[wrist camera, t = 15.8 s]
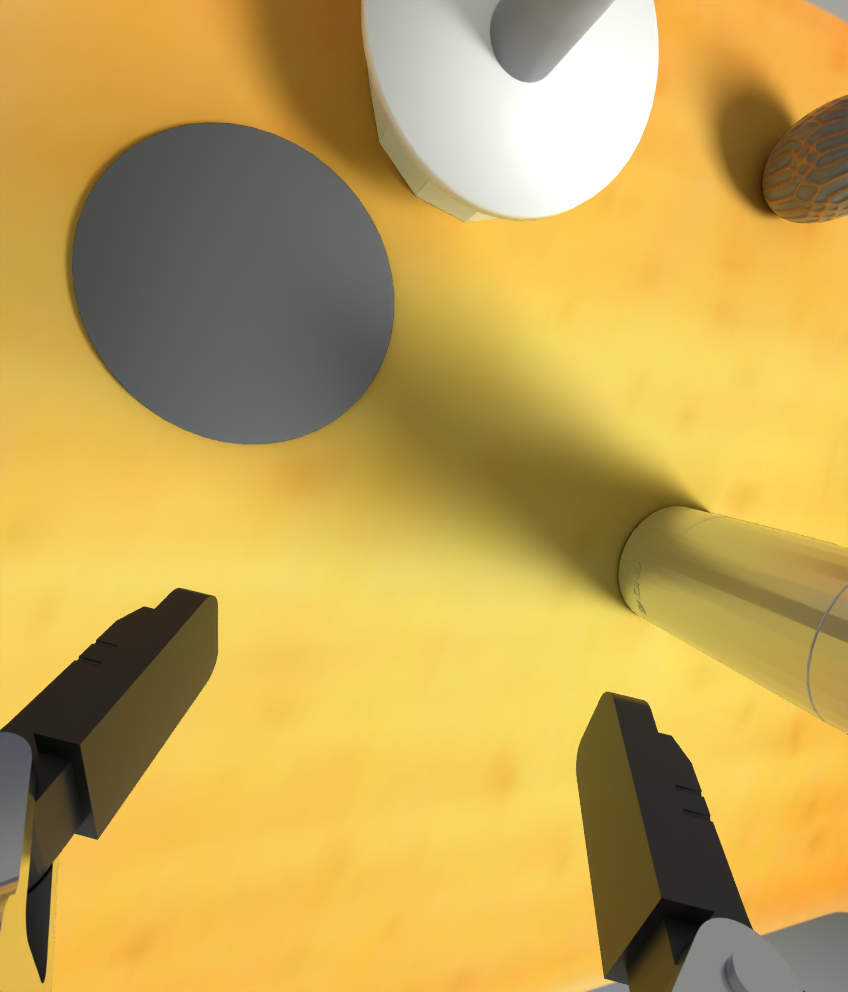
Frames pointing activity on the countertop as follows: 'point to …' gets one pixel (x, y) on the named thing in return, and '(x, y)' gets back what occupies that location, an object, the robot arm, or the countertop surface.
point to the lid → (514, 94)
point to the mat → (233, 283)
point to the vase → (811, 167)
